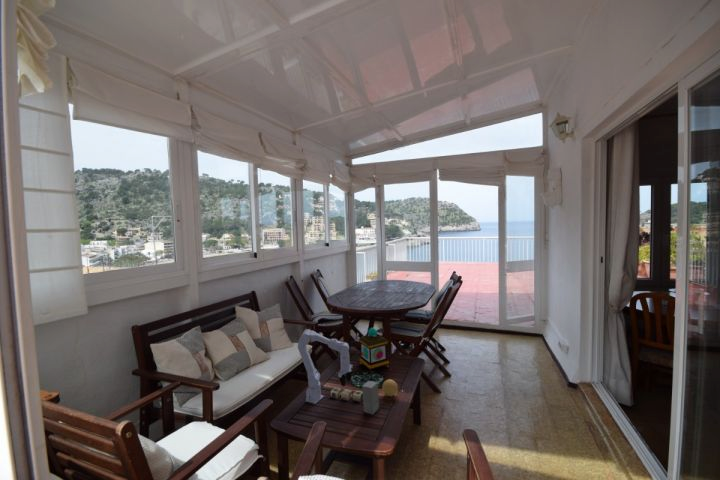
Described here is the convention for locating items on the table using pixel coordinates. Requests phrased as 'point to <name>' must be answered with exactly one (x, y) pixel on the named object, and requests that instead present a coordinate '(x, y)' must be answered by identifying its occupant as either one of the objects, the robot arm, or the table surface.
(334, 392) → the marked block
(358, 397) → the marked block
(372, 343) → the decorative lantern
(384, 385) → the stress ball
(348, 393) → the plain block
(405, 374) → the table surface
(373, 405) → the skincare box
